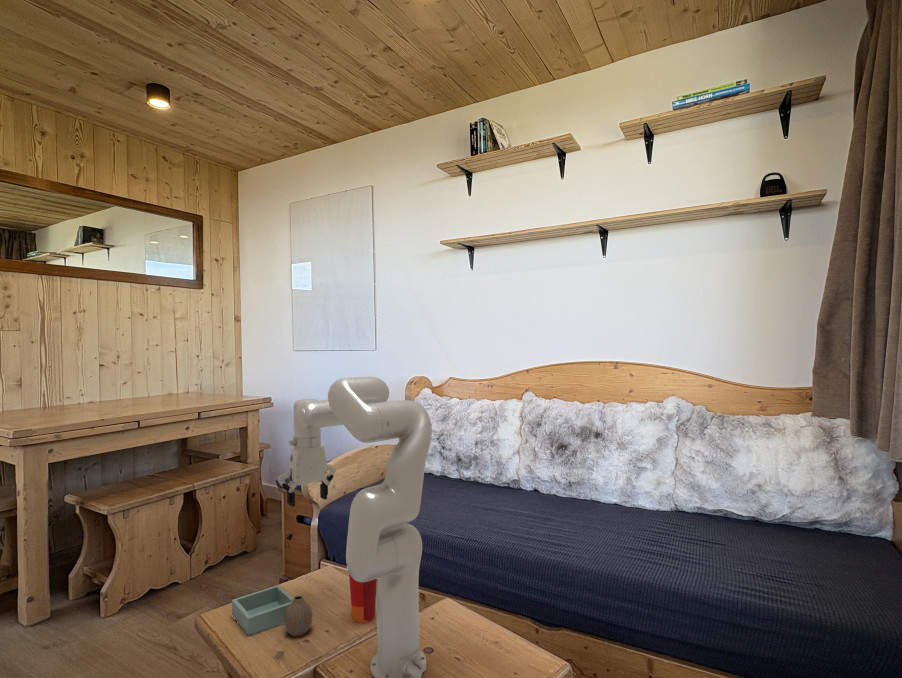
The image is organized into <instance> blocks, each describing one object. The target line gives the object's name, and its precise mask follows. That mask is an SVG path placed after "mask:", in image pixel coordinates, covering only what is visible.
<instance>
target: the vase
mask: <svg viewBox="0 0 902 678" xmlns="http://www.w3.org/2000/svg"><path fill="white" fill-rule="evenodd" d="M313 615H314V614H313V610H312V607H311V605H310V603H308V601H306V599H305V598H304V596H303V595H301V594H300V595H299V594H298V595H295V596H294V597H293V601H292V602H291V604H290V605H289V607H288V608H287V610H286V613H285V618H284V628H285V629H286V631H287V633H288V634H289V635H291V636H293V637H300V636H303V635H305V634H306V633H307V632H308V631H309V629H310V628H311V626H312V623H313Z"/></svg>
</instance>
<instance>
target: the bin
mask: <svg viewBox="0 0 902 678" xmlns="http://www.w3.org/2000/svg"><path fill="white" fill-rule="evenodd" d="M293 598H294V597H293V596H292V595H291V594H289V593H288V591H286V590H285V589H284V588H283V587H282V586H281V585H280V584H277V585H273V586H272V587H268V588H265V589H261V590H259V591H255V592H253V593H249V594H245V595H243V596H240V597H237V598H233V599H232V600H231V616H232V615H233V617H234V618H235V620H236V621H237V622H238V623H237V622H236V621H235V620H234V621H235V622H236V623H237V625H238V624H239V625H240V626H241V627H240V626H239V625H238V626H239V627H240V628H241V630H242V629H243V630H242V631H243V632H244V634H246V636H247V637H248V638H249V637H252V636H253V635H256V634H259V633H263V632H264V631H267V630H270V629H273V628H276V627H278V626H280V625H285V623H284V618H285V613H286V610H287V608H288V607H289V605H290V604H291V602H292V601H293ZM233 617H232V618H233Z"/></svg>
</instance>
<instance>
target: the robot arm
mask: <svg viewBox="0 0 902 678" xmlns="http://www.w3.org/2000/svg"><path fill="white" fill-rule="evenodd" d="M327 392H328V393H327V399H323V400H318V399H313V398H305V399H304V398H303V399H299V400H296V401H295V402H294V404H293V437H292V440H289V441H288V443H289V446H292V448H291V451H290V455H289V456H290V457H289V465H288V470H286V471H285V472H283V473H282V474H280V475H279V476H278V477H277V481H278V483H279V484H280V487H282V488H283V490H285V491H286V501H287V502H286V503H287V504H288V506H290V507H293V508H294V507H295V506H296V493H295V492H294V490H295V488H297V486H303V485H309V484H314V483H318V482H321V483H320V485H319V487H320V488H319V492H320V493H319V497H320V498H321V499H323V500H328V496H329V485H330V484H331V482H332V480H333V479H334V475H335V474H336V471H337V468H336V467H333V466H331V465H328V463H327V457H326V456H327V454H326V451H325V446H324V445H322V435H321V434H322V433H321V431H322V430H321V429H323V428H329V427H335V426H336V427H337V426H343V427H345V429H346V430H347V431H348V432H349V433H350V434H351V436H352V437H354V438H355V440H357V441H359V442H361V443H365V444H367V443H368V444H369V443H370V444H371V443H376V442H384V441H390V440H394V439H398V442H397V443H396V445H395V446H394V448H393V449H392V451H391V452H390V454H389V456H388V458H387V462H386V470H385V476H384V480H383V482H382V483H380V484H377V485H372V486H368V487H365V488H363V489H361V490H360V491H358V492H357V493H356V494H355V496H354V497H353V499H352V501H351V505H350V509H349V518H348V527H347V537H346V548H345V549H346V550H345V560H346V562H345V563H346V569H347V568H348V570H347V571H348V574H349V573H350V575H351V577H352V578H353V579H354V580H356V581H358V582H368V581H372V580H374V579H378V581H377V583H376V606H375V613H376V654H375V655H373V657H372V659H371V660H370V664H369V667H370V668H369V669H370V673H371V675H372V676H373V677H374V678H422V677H423V673H424V672H426V671H427V668H428V666H427V658H426V655H425V654H424V652H423V651H422V650H420V615H419V612H420V610H419V608H420V607H419V579H420V577H419V575H420V574H419V573H420V566H421V559H422V555H423V539H422V537H421V534H420V532H419V530H418V529H417V527H415V526H414V525H412V524H409V523H411V522H412V521H414V520H416V518H417V517H418V516H419V513H420V509H421V502H422V494H423V487H424V486H423V485H424V479H425V477H424V476H425V467H426V463H427V457H428V454H429V451H430V446H431V442H432V433H433V429H432V427H433V426H432V421H431V417H430V415H429V413H428V410H427V409H426V407H424V406H423V405H422V404H421V403H420V402H418V401H415V400H408V399H407V400H406V399H401V400H400V399H398V400H389V397H390V390H389V387H388V385H387V383H386V382H385V381H384V380H382V379H381V378H378V377H376V376H375V377H374V376H357V377H344V378H343V377H341V378H338V379H336V380H335V381H334V382H333V383H332V384H331V386H329V389H328V391H327ZM287 479H288V480H289V482H288V484H287V483H286V480H287Z"/></svg>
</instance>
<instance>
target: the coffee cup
mask: <svg viewBox="0 0 902 678" xmlns="http://www.w3.org/2000/svg"><path fill="white" fill-rule="evenodd" d="M346 570H347V571H348V568H347V567H346ZM348 575H349V576H348V578H349V580H348V581H349V591H350V604H351V616H352V620H353V622H354V623H357V624H367V623H369V622H371V621H373V620H374V619H375V617H376V590H377V584H378V581H377V579H378V578H377V579H374V580H372V581H368V582H358V581H356V580H354V579H353V578H352V577H351V575H350V573H349V572H348Z"/></svg>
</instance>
